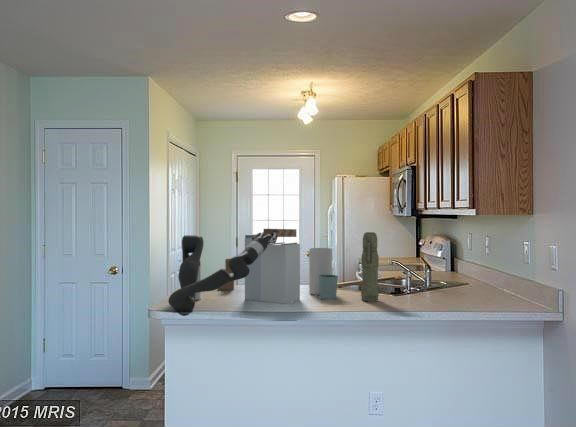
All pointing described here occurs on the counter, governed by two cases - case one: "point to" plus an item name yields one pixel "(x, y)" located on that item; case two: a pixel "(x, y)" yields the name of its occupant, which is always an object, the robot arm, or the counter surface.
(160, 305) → the counter surface
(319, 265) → the cylinder vase
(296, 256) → the stand
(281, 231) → the walnut bar
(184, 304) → the robot arm
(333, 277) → the teal cup
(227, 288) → the wooden block
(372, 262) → the thermos
